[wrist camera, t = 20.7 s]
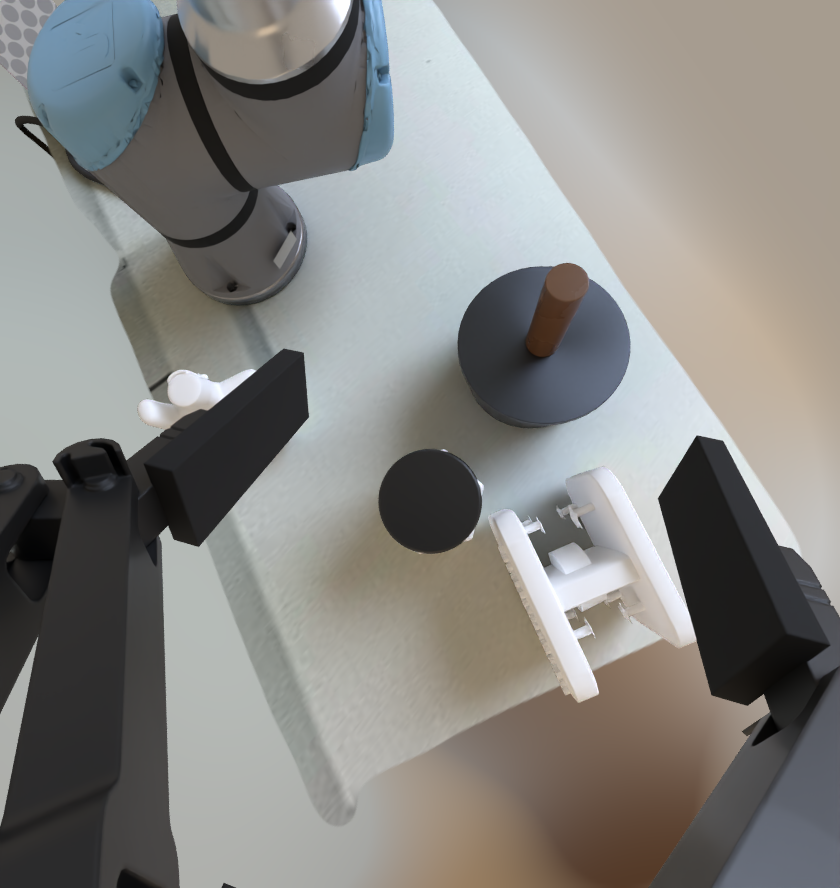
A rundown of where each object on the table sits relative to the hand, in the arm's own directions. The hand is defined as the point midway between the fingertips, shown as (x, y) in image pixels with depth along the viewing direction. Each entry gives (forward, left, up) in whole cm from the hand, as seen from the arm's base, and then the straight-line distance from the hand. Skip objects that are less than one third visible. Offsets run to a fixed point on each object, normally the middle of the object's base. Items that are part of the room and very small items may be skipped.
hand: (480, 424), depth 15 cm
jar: (-1, -4, -31) cm, 31 cm away
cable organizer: (+12, 0, -31) cm, 33 cm away
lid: (-3, +12, -22) cm, 25 cm away
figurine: (-21, -11, -31) cm, 39 cm away
